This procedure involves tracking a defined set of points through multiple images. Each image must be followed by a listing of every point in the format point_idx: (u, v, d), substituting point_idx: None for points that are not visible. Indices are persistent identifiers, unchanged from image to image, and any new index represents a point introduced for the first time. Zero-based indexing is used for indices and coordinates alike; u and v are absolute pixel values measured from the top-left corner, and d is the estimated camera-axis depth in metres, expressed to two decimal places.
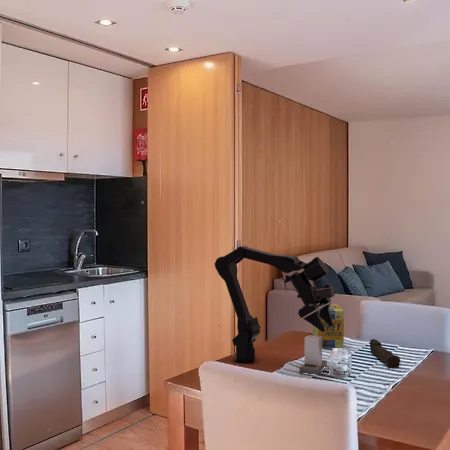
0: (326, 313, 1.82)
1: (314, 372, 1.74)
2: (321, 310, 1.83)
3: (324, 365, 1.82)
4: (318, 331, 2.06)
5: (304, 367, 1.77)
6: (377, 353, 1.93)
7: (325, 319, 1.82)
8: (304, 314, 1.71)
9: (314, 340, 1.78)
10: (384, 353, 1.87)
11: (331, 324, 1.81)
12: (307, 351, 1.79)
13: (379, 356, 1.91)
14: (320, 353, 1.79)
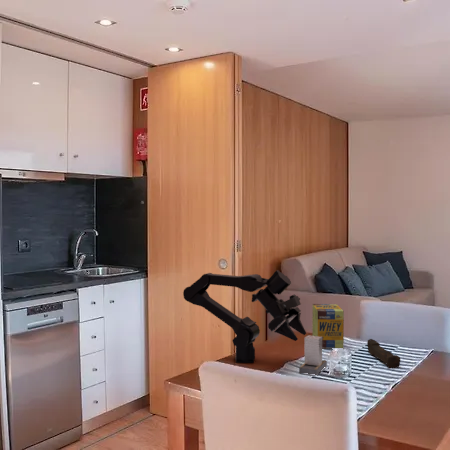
0: (297, 323, 1.87)
1: (314, 372, 1.74)
2: (292, 321, 1.89)
3: (324, 365, 1.82)
4: (318, 331, 2.06)
5: (304, 367, 1.77)
6: (376, 353, 1.93)
7: (298, 329, 1.87)
8: (274, 327, 1.76)
9: (314, 340, 1.78)
10: (384, 353, 1.87)
11: (304, 332, 1.86)
12: (307, 351, 1.79)
13: (378, 356, 1.91)
14: (320, 353, 1.79)
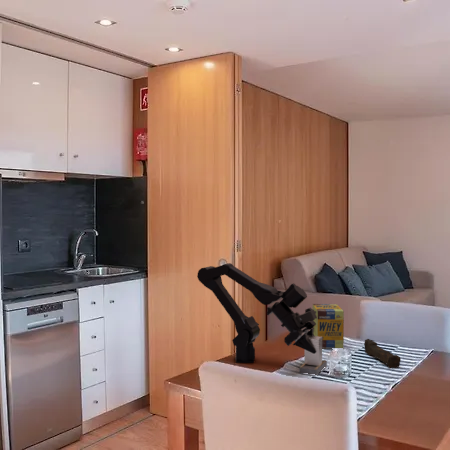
0: None
1: (314, 372, 1.74)
2: None
3: (324, 365, 1.82)
4: (318, 331, 2.06)
5: (304, 367, 1.77)
6: (374, 353, 1.93)
7: None
8: (290, 341, 1.74)
9: (314, 340, 1.78)
10: (383, 353, 1.87)
11: None
12: (307, 351, 1.79)
13: (377, 356, 1.91)
14: (320, 353, 1.79)
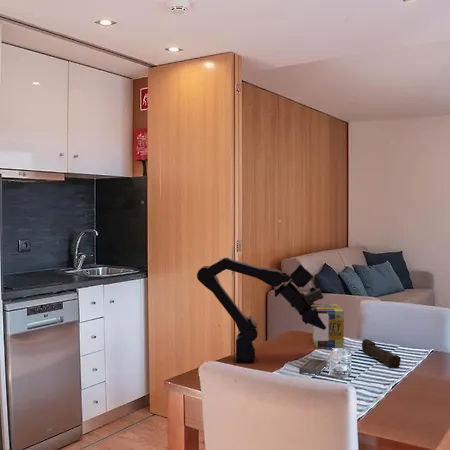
0: None
1: (314, 372, 1.74)
2: None
3: (324, 365, 1.82)
4: None
5: (304, 367, 1.77)
6: (373, 353, 1.93)
7: None
8: (309, 319, 1.80)
9: (324, 317, 1.87)
10: (383, 353, 1.87)
11: None
12: (317, 328, 1.87)
13: (376, 356, 1.91)
14: None
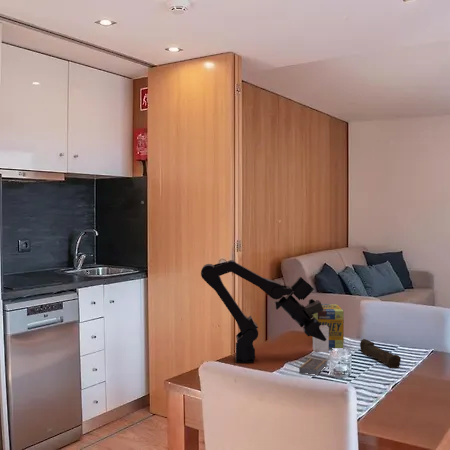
0: None
1: (314, 372, 1.74)
2: None
3: (324, 365, 1.82)
4: None
5: (304, 367, 1.77)
6: (373, 353, 1.92)
7: None
8: (311, 331, 1.83)
9: (324, 328, 1.90)
10: (383, 353, 1.87)
11: None
12: (318, 340, 1.90)
13: (376, 356, 1.90)
14: None
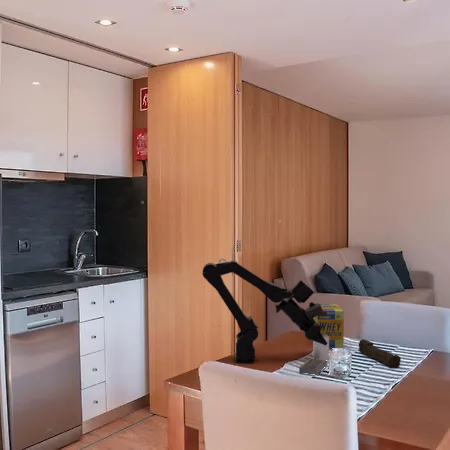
0: None
1: (314, 372, 1.74)
2: None
3: (324, 365, 1.82)
4: None
5: (304, 367, 1.77)
6: (372, 353, 1.92)
7: None
8: (312, 335, 1.83)
9: (324, 338, 1.90)
10: (382, 353, 1.87)
11: None
12: (318, 349, 1.90)
13: (375, 356, 1.90)
14: None
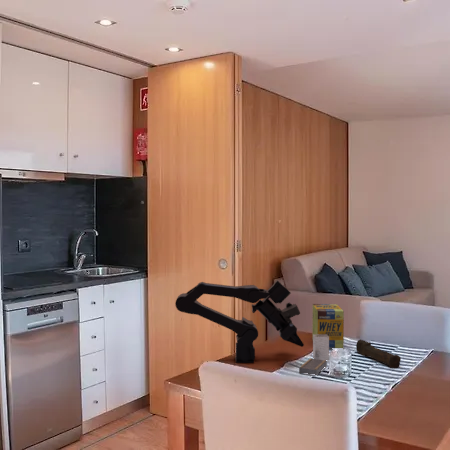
0: None
1: (314, 372, 1.74)
2: None
3: (324, 365, 1.82)
4: (318, 331, 2.06)
5: (304, 367, 1.77)
6: (371, 354, 1.92)
7: None
8: (287, 335, 1.82)
9: (324, 338, 1.90)
10: (382, 353, 1.87)
11: None
12: (318, 349, 1.90)
13: (374, 356, 1.90)
14: None
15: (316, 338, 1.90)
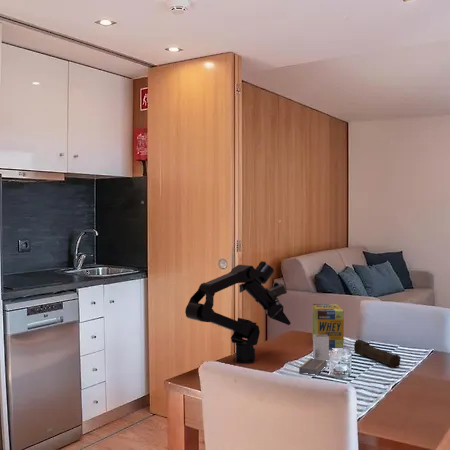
0: None
1: (314, 372, 1.74)
2: None
3: (324, 365, 1.82)
4: (318, 331, 2.06)
5: (304, 367, 1.77)
6: (370, 353, 1.92)
7: None
8: (273, 313, 1.85)
9: (324, 338, 1.90)
10: (382, 353, 1.87)
11: None
12: (318, 349, 1.90)
13: (374, 356, 1.90)
14: None
15: (316, 338, 1.90)
